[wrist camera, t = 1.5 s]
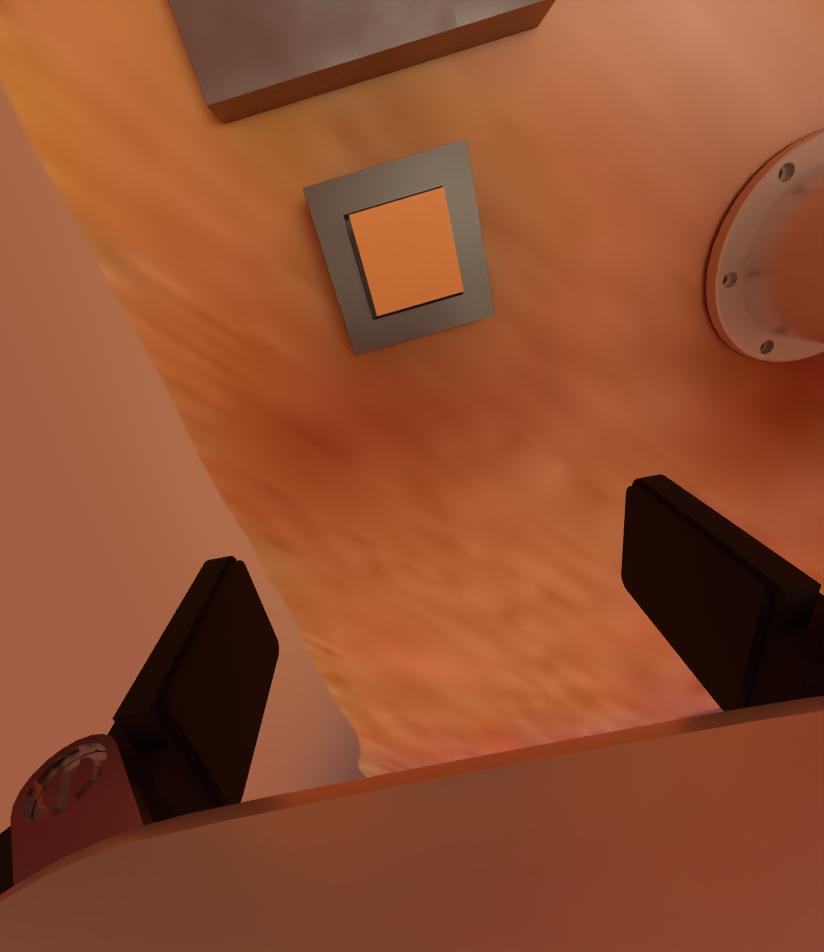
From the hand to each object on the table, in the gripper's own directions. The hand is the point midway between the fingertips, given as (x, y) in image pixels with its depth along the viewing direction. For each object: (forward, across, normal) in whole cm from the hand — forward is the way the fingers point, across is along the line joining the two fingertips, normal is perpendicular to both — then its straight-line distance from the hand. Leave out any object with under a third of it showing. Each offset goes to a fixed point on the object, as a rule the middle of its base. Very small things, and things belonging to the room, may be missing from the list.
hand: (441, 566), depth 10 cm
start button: (+17, -1, -7) cm, 18 cm away
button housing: (+19, -1, -7) cm, 20 cm away
